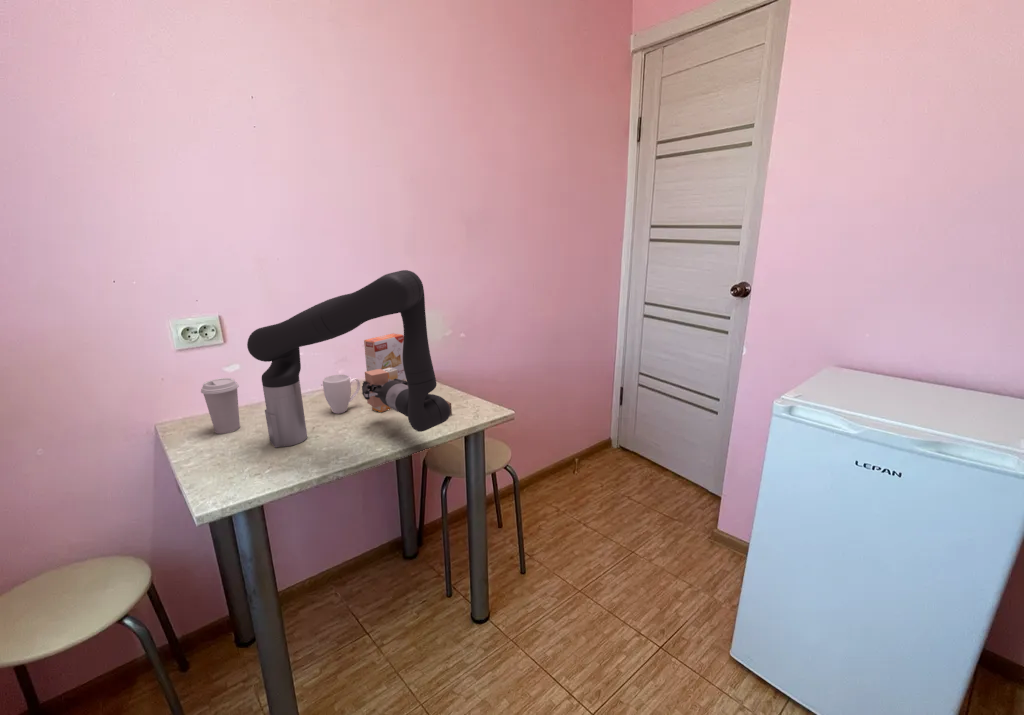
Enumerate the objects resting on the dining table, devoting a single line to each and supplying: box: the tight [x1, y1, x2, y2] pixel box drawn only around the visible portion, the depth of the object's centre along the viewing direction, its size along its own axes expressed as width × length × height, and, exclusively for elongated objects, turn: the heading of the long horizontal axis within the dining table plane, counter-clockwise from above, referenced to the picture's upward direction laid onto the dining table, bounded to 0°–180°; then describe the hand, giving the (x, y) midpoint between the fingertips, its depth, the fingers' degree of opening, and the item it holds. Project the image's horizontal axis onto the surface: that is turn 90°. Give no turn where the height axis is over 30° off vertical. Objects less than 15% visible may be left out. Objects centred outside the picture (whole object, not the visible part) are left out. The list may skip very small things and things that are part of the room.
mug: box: [322, 374, 361, 414], centre depth 153 cm, size 12×8×11 cm
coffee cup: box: [200, 377, 241, 435], centre depth 138 cm, size 10×10×15 cm
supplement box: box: [371, 368, 398, 413], centre depth 154 cm, size 8×5×13 cm, turn 143°
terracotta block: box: [364, 369, 388, 407], centre depth 140 cm, size 5×5×10 cm
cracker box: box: [363, 332, 407, 381], centre depth 169 cm, size 14×6×21 cm, turn 147°
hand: (373, 382), depth 142 cm, fingers closed on terracotta block, 5 cm apart
